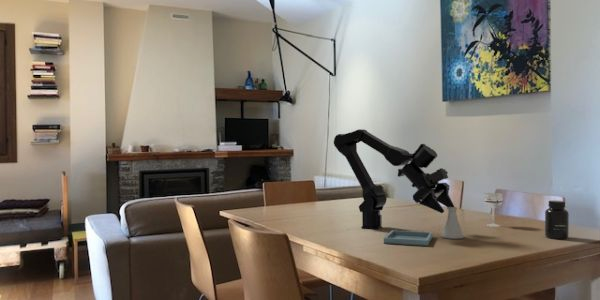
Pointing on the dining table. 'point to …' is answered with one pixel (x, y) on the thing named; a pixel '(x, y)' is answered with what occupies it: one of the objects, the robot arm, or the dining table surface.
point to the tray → (408, 238)
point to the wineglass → (493, 203)
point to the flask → (452, 225)
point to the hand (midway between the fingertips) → (448, 210)
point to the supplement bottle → (556, 220)
